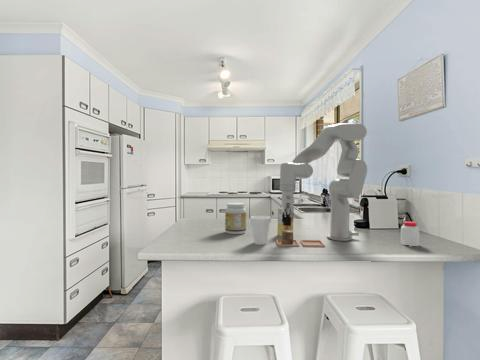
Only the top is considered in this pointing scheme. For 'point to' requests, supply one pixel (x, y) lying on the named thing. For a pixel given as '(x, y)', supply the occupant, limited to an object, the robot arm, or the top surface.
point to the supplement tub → (235, 218)
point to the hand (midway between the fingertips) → (286, 223)
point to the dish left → (312, 243)
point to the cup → (260, 229)
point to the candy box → (281, 224)
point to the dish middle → (279, 243)
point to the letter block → (287, 237)
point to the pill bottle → (410, 234)
